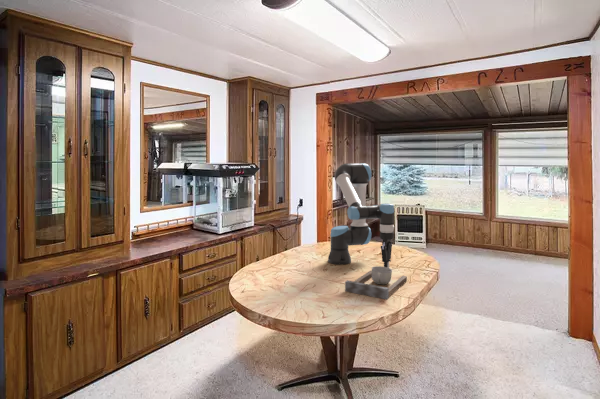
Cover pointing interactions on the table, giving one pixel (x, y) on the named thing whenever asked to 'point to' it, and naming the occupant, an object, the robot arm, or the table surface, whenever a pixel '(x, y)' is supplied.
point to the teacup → (381, 274)
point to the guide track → (373, 287)
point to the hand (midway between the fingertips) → (386, 273)
